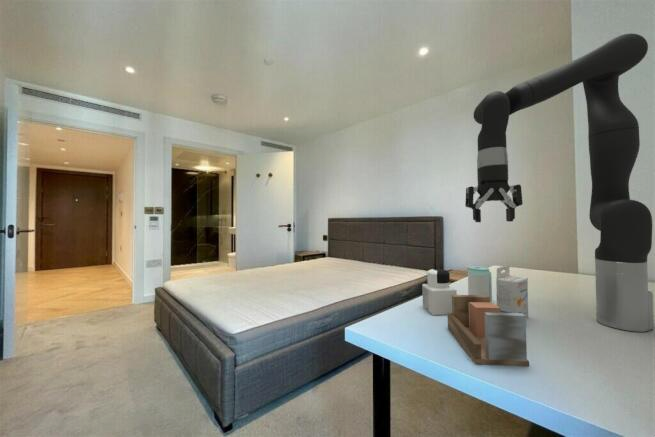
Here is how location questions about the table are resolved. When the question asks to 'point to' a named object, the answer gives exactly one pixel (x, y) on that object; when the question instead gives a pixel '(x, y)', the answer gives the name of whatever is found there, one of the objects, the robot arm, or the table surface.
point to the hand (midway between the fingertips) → (493, 221)
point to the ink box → (511, 292)
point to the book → (480, 316)
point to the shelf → (489, 334)
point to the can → (479, 281)
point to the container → (438, 292)
